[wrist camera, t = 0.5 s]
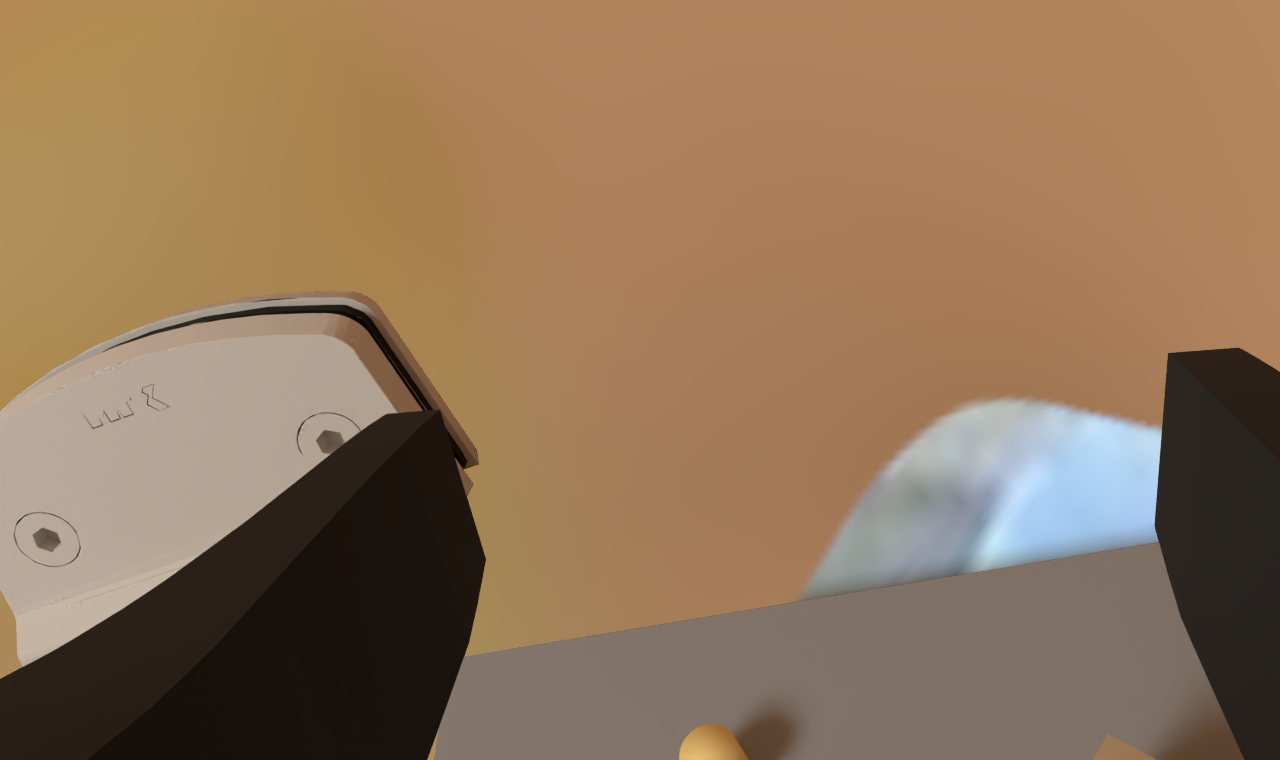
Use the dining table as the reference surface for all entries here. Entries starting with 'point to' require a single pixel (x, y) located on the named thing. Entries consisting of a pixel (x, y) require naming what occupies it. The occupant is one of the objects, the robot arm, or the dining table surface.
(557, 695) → the board
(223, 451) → the tan half-round piece
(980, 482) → the dining table surface
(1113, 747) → the tan block
